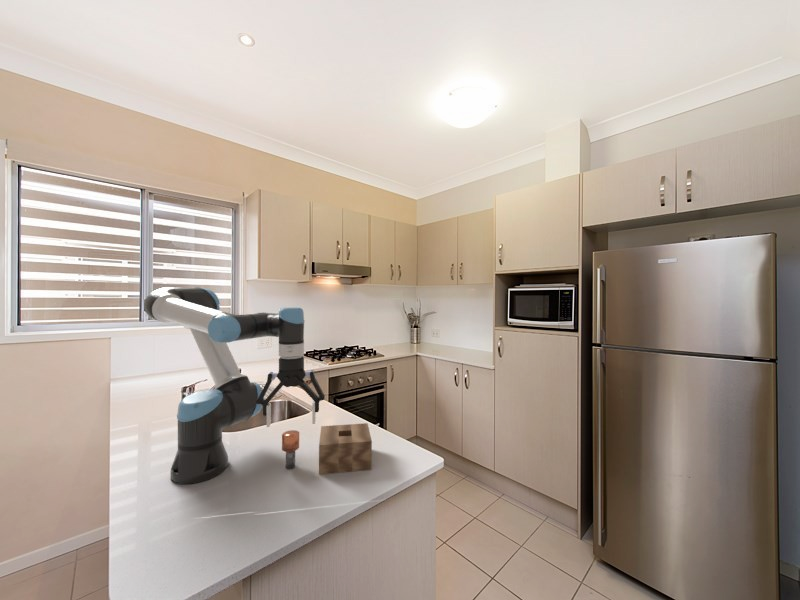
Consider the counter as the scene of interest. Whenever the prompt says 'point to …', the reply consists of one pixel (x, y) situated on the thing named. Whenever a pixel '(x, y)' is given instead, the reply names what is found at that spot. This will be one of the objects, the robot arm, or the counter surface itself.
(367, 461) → the hitch block
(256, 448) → the counter surface
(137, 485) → the counter surface
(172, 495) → the counter surface
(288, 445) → the copper cylinder with shaft
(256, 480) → the counter surface
